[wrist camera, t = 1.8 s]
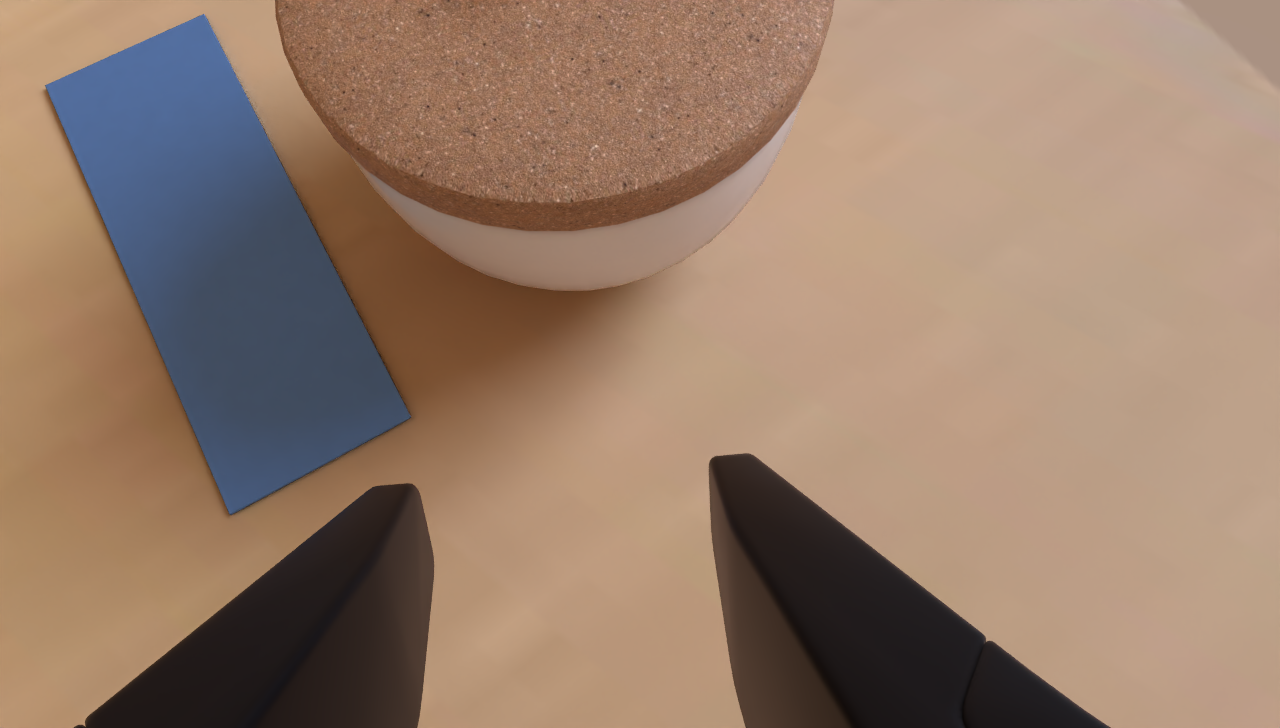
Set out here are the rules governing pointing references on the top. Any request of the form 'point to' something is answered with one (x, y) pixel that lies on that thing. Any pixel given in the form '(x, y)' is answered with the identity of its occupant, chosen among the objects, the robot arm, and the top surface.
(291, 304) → the tape strip
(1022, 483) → the top surface
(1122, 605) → the top surface
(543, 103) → the trinket box
